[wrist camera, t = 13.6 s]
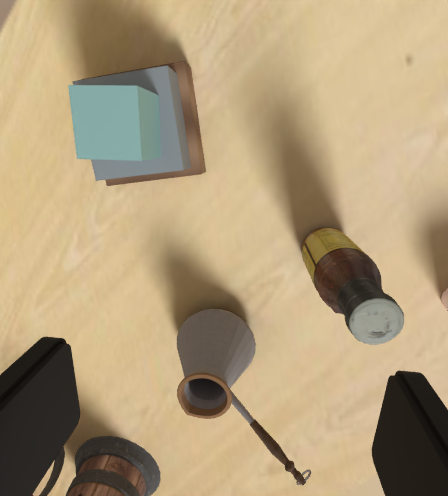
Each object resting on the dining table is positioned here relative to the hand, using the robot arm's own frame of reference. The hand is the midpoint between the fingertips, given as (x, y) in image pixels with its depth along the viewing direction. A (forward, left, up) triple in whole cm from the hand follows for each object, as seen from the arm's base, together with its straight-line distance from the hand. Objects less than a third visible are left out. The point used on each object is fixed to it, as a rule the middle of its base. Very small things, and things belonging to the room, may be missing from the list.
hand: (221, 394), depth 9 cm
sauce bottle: (+6, +10, -34) cm, 36 cm away
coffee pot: (+24, 0, -34) cm, 42 cm away
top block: (-8, -13, -31) cm, 35 cm away
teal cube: (-8, -13, -27) cm, 31 cm away
